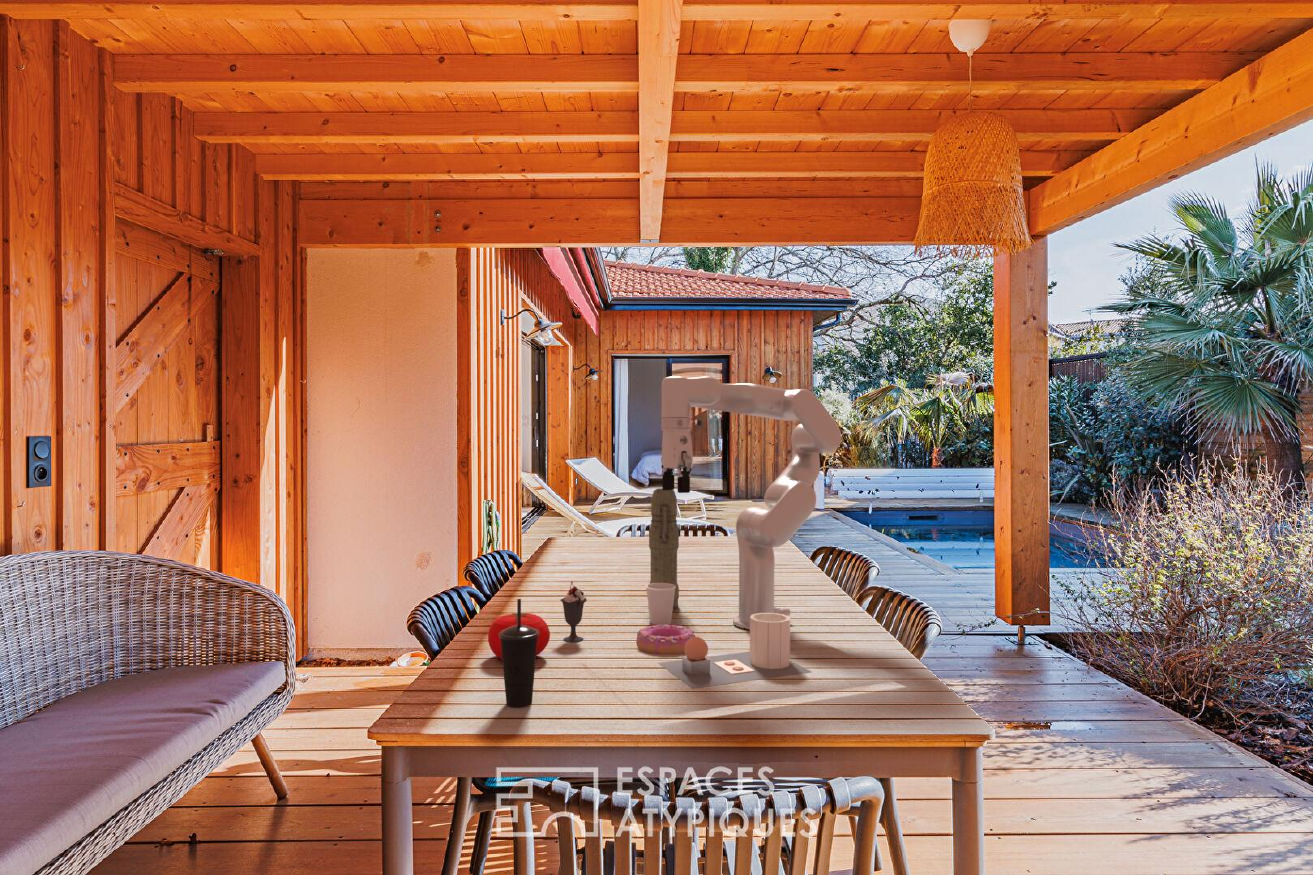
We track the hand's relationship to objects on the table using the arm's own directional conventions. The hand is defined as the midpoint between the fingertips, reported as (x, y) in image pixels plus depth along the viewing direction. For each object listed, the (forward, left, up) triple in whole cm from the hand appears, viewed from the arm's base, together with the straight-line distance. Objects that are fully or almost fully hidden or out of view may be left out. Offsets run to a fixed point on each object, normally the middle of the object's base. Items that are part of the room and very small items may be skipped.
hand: (675, 491), depth 197 cm
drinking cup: (+48, +35, -37) cm, 70 cm away
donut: (+8, +13, -37) cm, 40 cm away
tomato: (+42, +6, -37) cm, 56 cm away
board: (+1, +34, -37) cm, 50 cm away
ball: (+10, +34, -31) cm, 47 cm away
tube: (-8, +34, -36) cm, 50 cm away
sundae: (+26, -4, -37) cm, 45 cm away
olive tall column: (-9, -29, -37) cm, 48 cm away
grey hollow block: (+10, +34, -36) cm, 50 cm away
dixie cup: (-1, -12, -37) cm, 39 cm away
